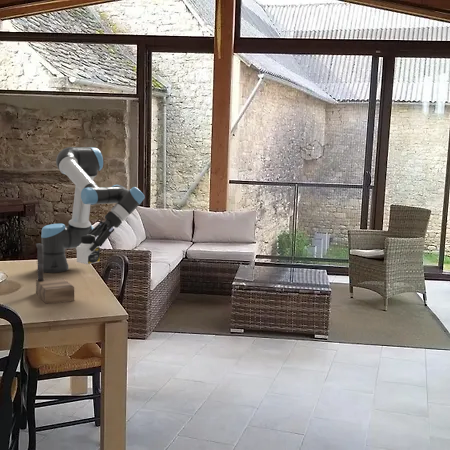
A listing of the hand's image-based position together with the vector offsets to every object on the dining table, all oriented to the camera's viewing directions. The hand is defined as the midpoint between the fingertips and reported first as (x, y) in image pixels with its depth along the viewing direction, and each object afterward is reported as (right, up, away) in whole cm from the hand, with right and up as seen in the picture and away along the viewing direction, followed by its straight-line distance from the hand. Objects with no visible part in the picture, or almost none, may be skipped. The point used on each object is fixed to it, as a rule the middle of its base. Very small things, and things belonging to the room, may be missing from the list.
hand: (81, 253), depth 268 cm
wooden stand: (-11, -19, -1) cm, 22 cm away
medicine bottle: (+3, -4, +2) cm, 5 cm away
